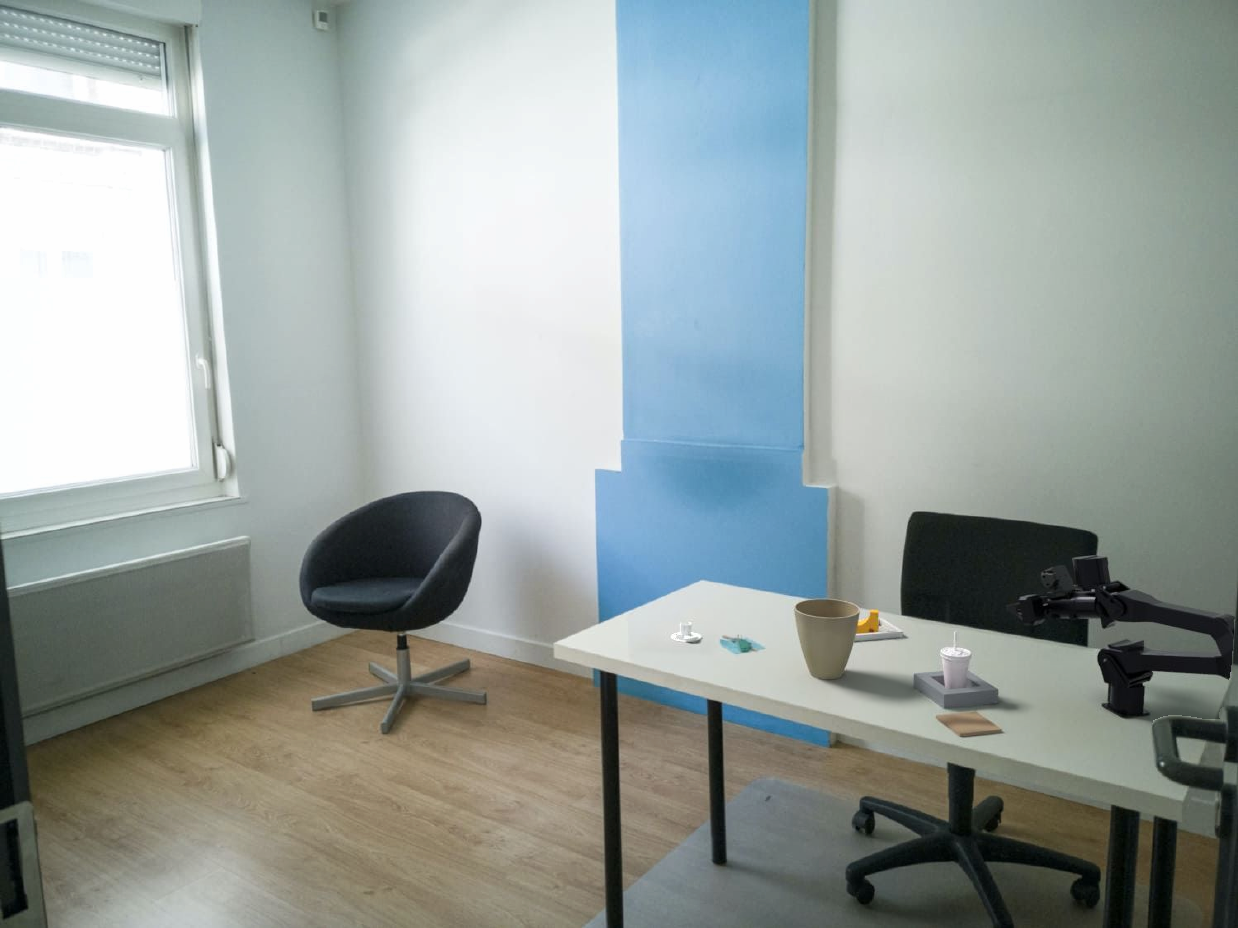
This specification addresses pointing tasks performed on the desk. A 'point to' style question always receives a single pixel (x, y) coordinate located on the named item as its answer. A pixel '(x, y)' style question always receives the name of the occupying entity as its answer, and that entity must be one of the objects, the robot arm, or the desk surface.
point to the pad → (968, 723)
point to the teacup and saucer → (686, 633)
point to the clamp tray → (892, 632)
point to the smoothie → (955, 665)
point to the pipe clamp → (869, 623)
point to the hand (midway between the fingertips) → (1020, 604)
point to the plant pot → (826, 634)
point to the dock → (955, 690)
